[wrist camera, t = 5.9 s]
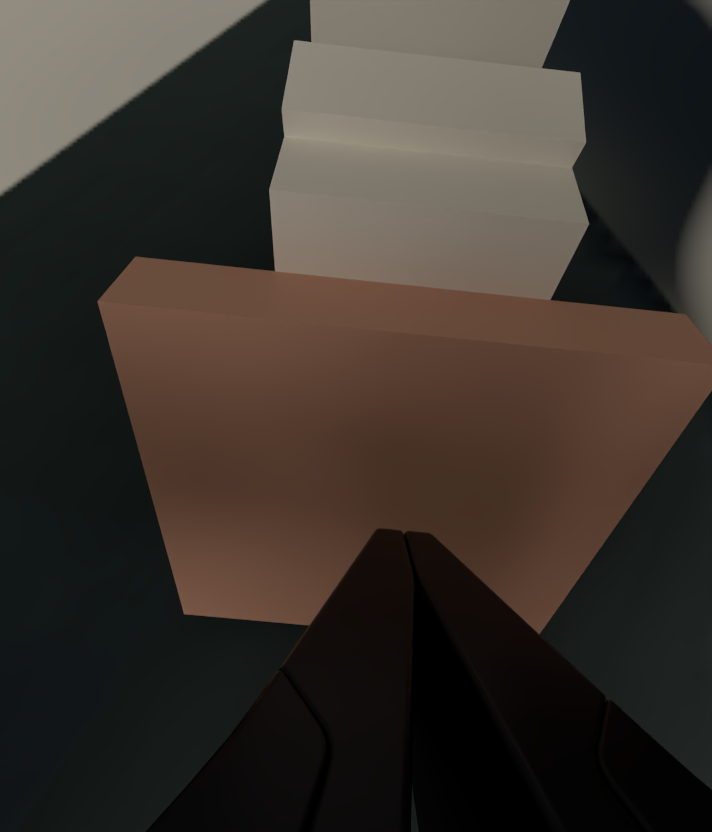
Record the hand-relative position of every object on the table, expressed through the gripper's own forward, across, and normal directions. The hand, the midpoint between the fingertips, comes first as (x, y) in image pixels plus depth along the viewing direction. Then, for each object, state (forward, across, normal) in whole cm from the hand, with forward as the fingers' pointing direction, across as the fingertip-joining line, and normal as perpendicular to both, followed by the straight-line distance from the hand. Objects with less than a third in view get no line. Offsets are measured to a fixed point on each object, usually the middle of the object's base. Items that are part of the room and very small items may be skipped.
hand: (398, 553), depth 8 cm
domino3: (+11, 0, -1) cm, 11 cm away
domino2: (+8, 0, -4) cm, 9 cm away
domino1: (+5, 0, -7) cm, 8 cm away
